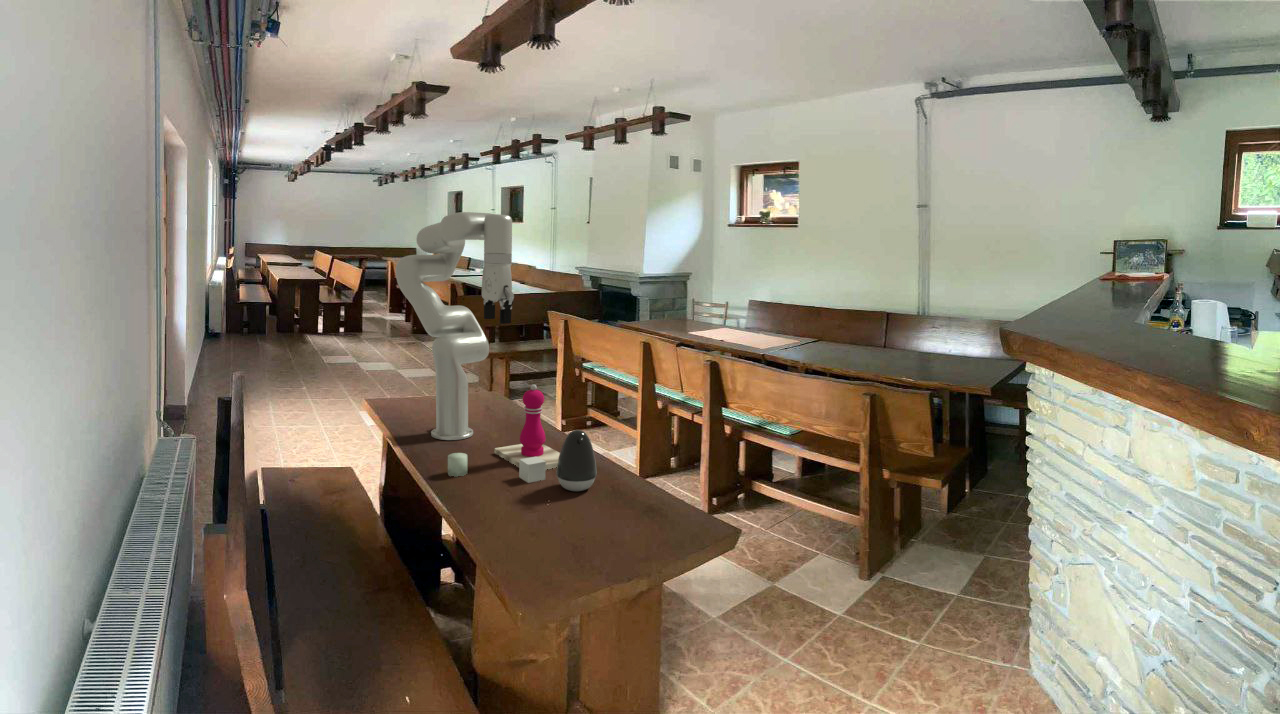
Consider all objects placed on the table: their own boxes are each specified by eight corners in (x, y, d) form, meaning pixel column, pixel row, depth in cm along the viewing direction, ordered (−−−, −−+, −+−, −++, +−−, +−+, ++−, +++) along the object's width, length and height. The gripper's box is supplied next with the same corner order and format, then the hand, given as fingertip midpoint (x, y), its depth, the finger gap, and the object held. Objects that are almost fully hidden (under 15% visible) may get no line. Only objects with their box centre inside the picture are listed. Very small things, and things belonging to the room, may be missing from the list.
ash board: (494, 453, 213) (494, 448, 212) (537, 446, 221) (537, 441, 221) (528, 473, 197) (528, 467, 197) (572, 464, 205) (573, 459, 205)
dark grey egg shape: (559, 496, 181) (560, 436, 179) (553, 482, 191) (554, 425, 188) (600, 494, 184) (602, 435, 181) (591, 480, 194) (593, 424, 191)
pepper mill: (539, 458, 205) (541, 388, 201) (515, 455, 206) (516, 385, 203) (548, 451, 212) (550, 383, 208) (525, 448, 213) (526, 380, 210)
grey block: (519, 477, 194) (519, 459, 193) (536, 474, 197) (536, 456, 196) (528, 483, 190) (528, 464, 189) (545, 479, 193) (545, 461, 192)
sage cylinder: (444, 472, 195) (444, 454, 194) (462, 469, 198) (462, 451, 197) (452, 478, 191) (452, 459, 190) (470, 475, 194) (470, 456, 193)
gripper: (471, 257, 209) (471, 317, 212) (499, 262, 195) (499, 326, 198) (496, 257, 213) (495, 316, 216) (525, 262, 200) (524, 324, 203)
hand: (497, 321), depth 207 cm, fingers open, 9 cm apart
